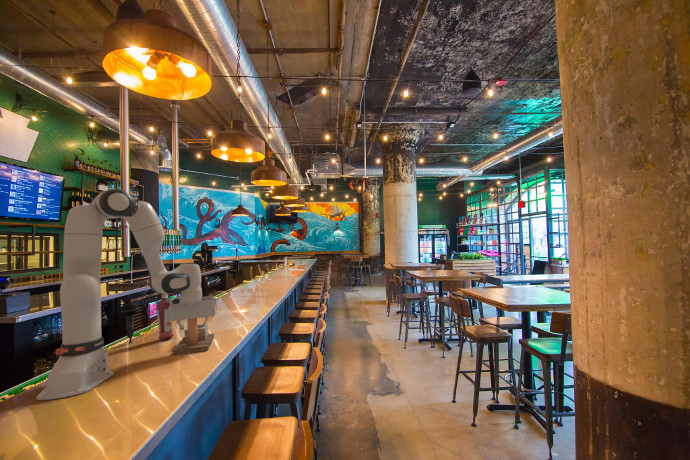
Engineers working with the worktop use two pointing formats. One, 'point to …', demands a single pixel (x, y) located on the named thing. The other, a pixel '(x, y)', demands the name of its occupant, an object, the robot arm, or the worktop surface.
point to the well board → (203, 342)
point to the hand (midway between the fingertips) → (193, 328)
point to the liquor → (164, 319)
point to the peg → (192, 332)
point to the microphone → (129, 318)
